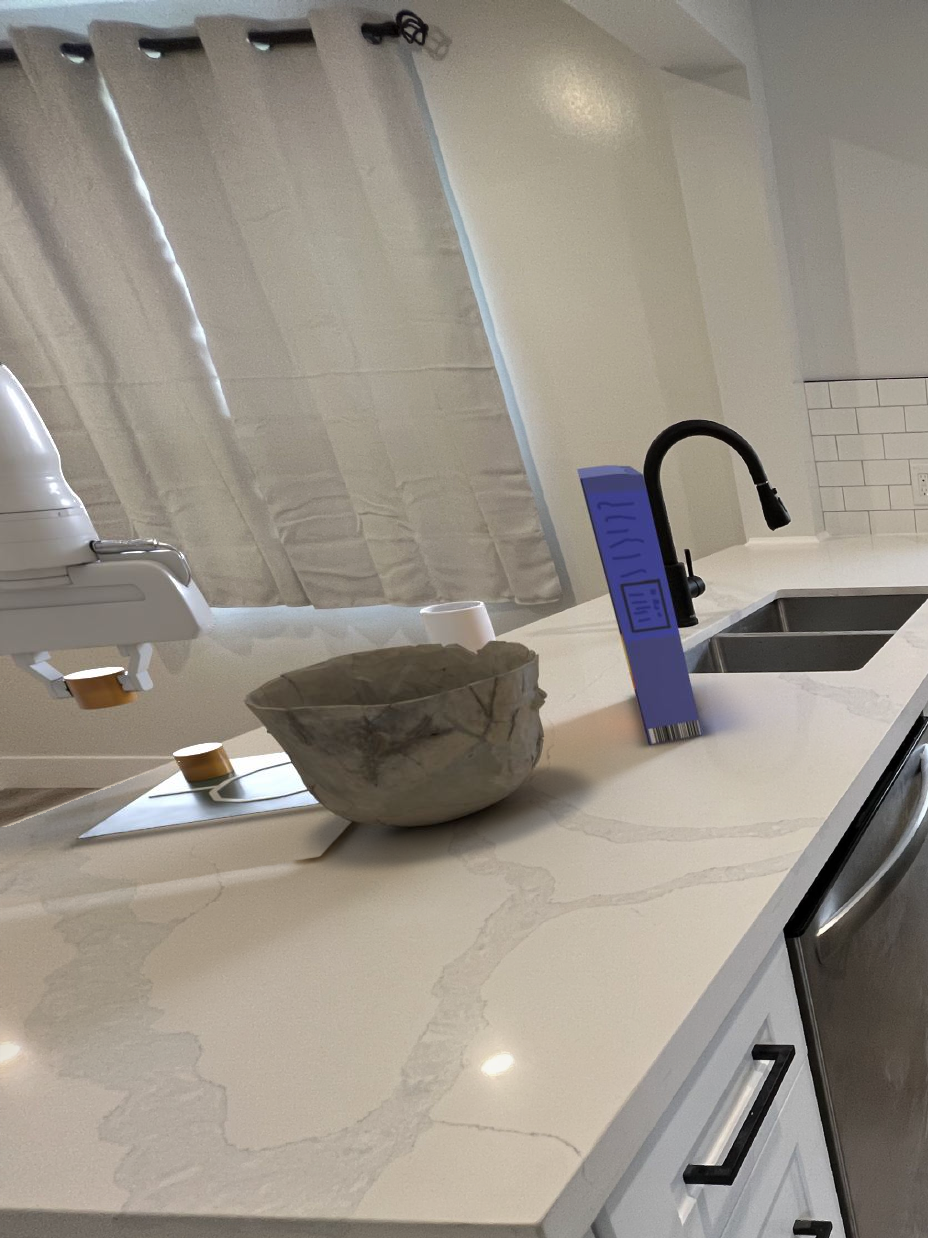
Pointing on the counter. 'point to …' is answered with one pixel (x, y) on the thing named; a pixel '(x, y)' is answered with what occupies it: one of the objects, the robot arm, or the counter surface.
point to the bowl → (409, 729)
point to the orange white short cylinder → (99, 688)
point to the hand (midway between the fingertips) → (104, 693)
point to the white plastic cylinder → (459, 624)
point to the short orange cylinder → (203, 762)
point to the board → (213, 796)
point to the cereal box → (641, 600)
